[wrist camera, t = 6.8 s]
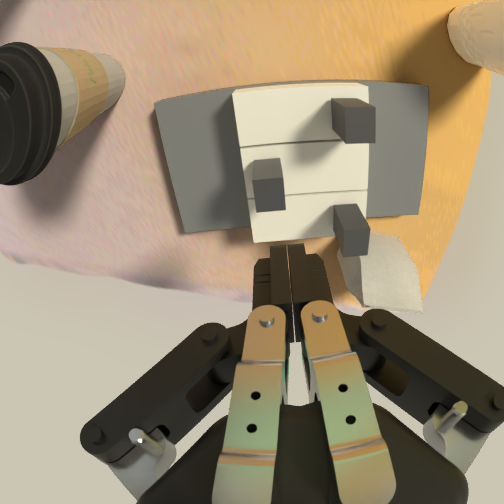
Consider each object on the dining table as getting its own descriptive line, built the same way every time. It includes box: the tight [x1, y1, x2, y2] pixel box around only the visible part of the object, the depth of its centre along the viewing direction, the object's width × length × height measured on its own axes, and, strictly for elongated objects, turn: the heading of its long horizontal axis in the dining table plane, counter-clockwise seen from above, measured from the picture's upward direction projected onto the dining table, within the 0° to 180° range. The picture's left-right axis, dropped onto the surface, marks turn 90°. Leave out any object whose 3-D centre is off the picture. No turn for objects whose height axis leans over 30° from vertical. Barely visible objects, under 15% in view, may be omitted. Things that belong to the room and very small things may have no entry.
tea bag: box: [336, 231, 424, 314], centre depth 29 cm, size 4×7×10 cm, turn 80°
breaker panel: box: [154, 80, 429, 257], centre depth 23 cm, size 13×24×9 cm, turn 97°
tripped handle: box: [252, 158, 286, 213], centre depth 22 cm, size 2×2×4 cm
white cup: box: [447, 0, 504, 75], centre depth 14 cm, size 8×8×10 cm
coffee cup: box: [0, 42, 125, 185], centre depth 17 cm, size 10×9×15 cm
